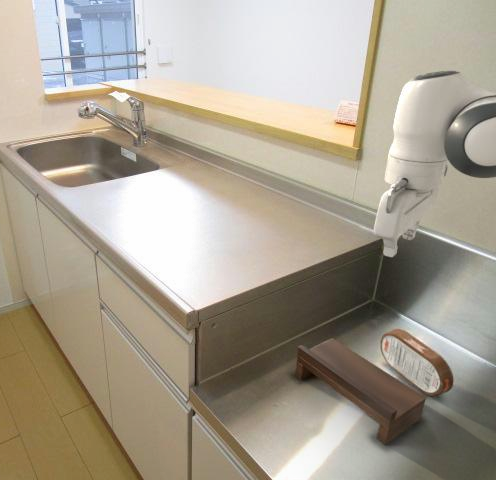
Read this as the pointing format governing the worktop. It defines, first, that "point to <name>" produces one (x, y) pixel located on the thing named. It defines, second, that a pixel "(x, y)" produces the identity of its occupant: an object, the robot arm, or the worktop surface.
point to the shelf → (363, 386)
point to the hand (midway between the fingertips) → (399, 246)
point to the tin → (416, 362)
